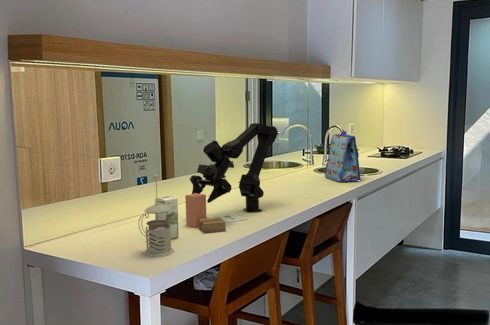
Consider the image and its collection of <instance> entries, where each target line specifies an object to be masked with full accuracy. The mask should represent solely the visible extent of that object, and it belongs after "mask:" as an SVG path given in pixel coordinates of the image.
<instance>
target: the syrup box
mask: <svg viewBox="0 0 490 325" xmlns="http://www.w3.org/2000/svg"><path fill="white" fill-rule="evenodd" d="M178 200H179V199H178V198H177V197H175V196H171V195H166V196H162V197H161V196H160V197H156V198H154V205H156V204H159V205H164V206H167V207H168V208H170V211H169V212H167V213H161V214H158V219H157V214H154V216H155V217H154V218H155V219H154V220H159V219H160V220H167V221H169V224H167V225H170V231H171V240H174V239H178V238H179V202H178ZM160 229H166V228H163V227H160V228H157V229H155V230H160ZM163 237H164V236H163ZM155 238H159V237H155Z"/></svg>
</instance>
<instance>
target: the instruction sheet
mask: <svg viewBox="0 0 490 325" xmlns="http://www.w3.org/2000/svg"><path fill="white" fill-rule="evenodd" d="M217 217H220V218H221V219H222V220H224V221H225V224H226V223H227V224H228V223H233V222H234V223H235V222H242V221H246V220H248V219H247V218H244V217H242V216H240V215H237V214H235V213H229V214H222V215H215V216H213V218H217Z"/></svg>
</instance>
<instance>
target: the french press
mask: <svg viewBox="0 0 490 325" xmlns="http://www.w3.org/2000/svg"><path fill="white" fill-rule="evenodd" d="M152 178H153V179H155V180H157V179H159V178H160V176H159V175H158V174H154V175H152ZM157 188H158V186H157V181H155V195H156V198H158V189H157ZM169 211H170V208H168V207H167V206H164V205H159V204H156V205H155V204H152V205H150V206H148V207H146V208H145V209H144V213H143V214H142V215H141V216H140V217H139V219H138V225H140V220H141V228H140V226H138V230H139V232H140V233H141V234H142V235H143V236H144V237H145V239H146V240H145V241H146V250H144V252H143V255H145V256H147V257H151V258H153V257H154V258H157V257H158V258H159V257H166V256H171V255H172V254H174V253H175V252H176V251H175V250H174V248H173V247H172V239H171V231H170V225H167V224H169V221H167V220H160V219H159V220H155V219H153V220H149V221H147V222H146V225H147V226H145V229H144V226H143V219H144V217H145V218H146V219H149V217H150V215H151V214H153V215H155V214H157V219H158V214H161V213H167V212H169ZM160 227H163V228H166V229H160V230H156V229H157V228H160ZM141 229H142V230H143V232H144V233H145V234H144V233H143V232H142V230H141ZM163 236H164V237H163ZM156 237H159V238H156Z"/></svg>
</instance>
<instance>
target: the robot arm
mask: <svg viewBox="0 0 490 325" xmlns="http://www.w3.org/2000/svg"><path fill="white" fill-rule="evenodd" d="M278 134H279V130H278V129H277V127H276V126H275V125H266V124H265V125H264V124H262V123H260V122H255V123H254V122H252V123H250V124H249V126H248V127H247V128H246V129H245V130H244V131H243V132H241V133H240V134H239V135H238V136H237V137H236V138H234V139H233V140H230V141H228V142H226V143H224V144H222V146H220V144H219V142H218V140H212V141H211V142H209V143H207V144H206V145H205V146H204V147H203V148H202V149H203V153H204V154H205V155H206V157H207V158H208V159H209V160H210V162H211V163H210V164H209V165H207V164H198V167H197V170H196V173H198V174H201V175H202V177H203V178H204V179H203V178H202V177H201V175H195V174H194V175H191V176H190V178H189V181H190V183H191V184H192V191H191V194H193V193H198V194H202V192H203V191H204V189H205V187H206V186H210V187H213V189H212V190H211V193H210V195H209V196H208V198H207V199H206V203H208V204H210V203H212V202H213V201H216V200H217V199H218V198H220V197H222V196H223V195H227V194H230V193H231V190H232V185H231V184H230V183H229V181H228V180H227V179H226V177H227V176H226V175H225V174H227V171H228V169H229V168H230V169H234V168H235V165H234V160H236V159H238V158H240V156H241V155H242V153H243V151H244V148H245V146H246V145H247V144H249V143H250V142H251V141H252V140H254V138H255V137H256V139H257V146H256V149H255V152H254V155H253V158H252V160H251V162H250V165H249V169H248V171H247V173H246V174H242V175H241V176H240V180H239V182H238V183H239V184H238V188H239V192H240V196H241V197H245V207H244V208H243V211H244V212H246V213H256V212H262V211H263V209H261V208H260V199H261V198H263V197H264V190H263V189H262V188H261V187H260V185H261V179H260V174H261V171H262V168H263V166H264V162H265V160H266V157H267V155H268V154H267V153H268V151H269V148H270V146H271V145H273V143H275V142H276V139H277V137H278ZM231 159H234V160H231ZM212 163H214V164H212Z"/></svg>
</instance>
